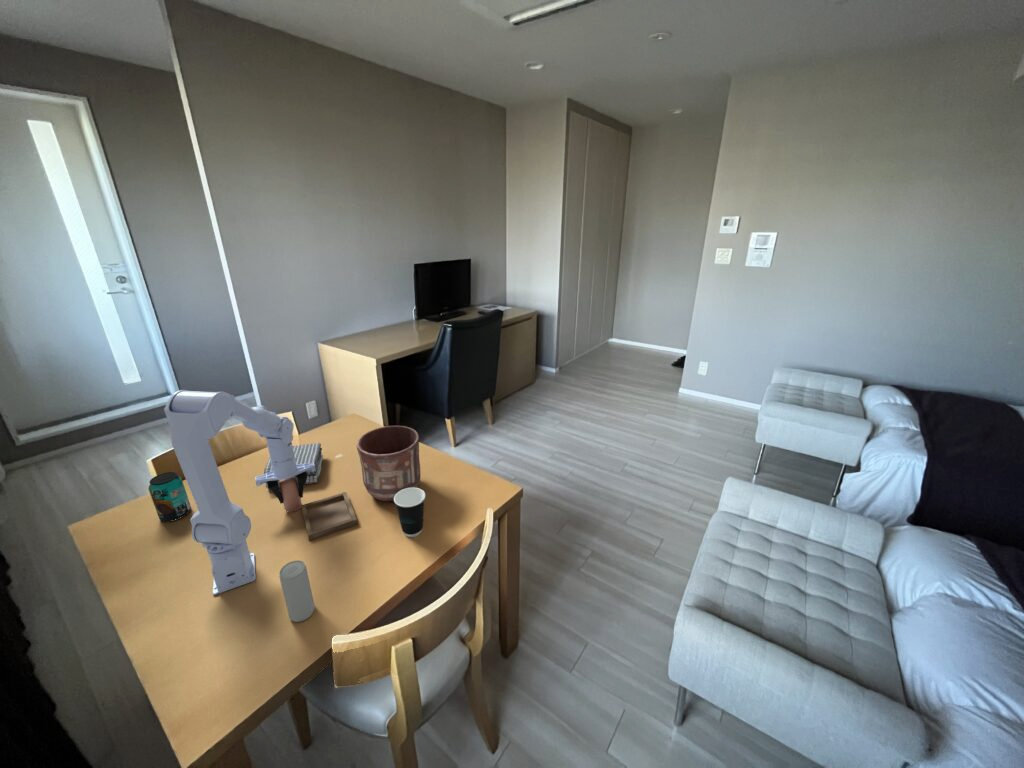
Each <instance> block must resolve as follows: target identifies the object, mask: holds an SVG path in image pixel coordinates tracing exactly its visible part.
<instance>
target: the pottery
mask: <svg viewBox="0 0 1024 768" xmlns="http://www.w3.org/2000/svg"><path fill="white" fill-rule="evenodd" d="M356 450H357V453H358V455H359V461H360V465H361V474H362V481H363V485H364V487H365V489H366V491H367V493H368V494H369V495H370V496H371V497H373V498H375V499H376V500H377V501H382V502H387V503H390V502H391V501H392V502H394V497H395V495H396V494H397V493H398V492H399V491H401V490H403V489H406V488H418V485H419V483H420V481H421V464H420V463H421V461H420V437H419V433H418V432H417V431H416V430H415V429H414V428H413V427H412V428H411V427H408V426H406V425H386V426H382V427H378V428H375V429H372V430H370V431H367V432H366V433H364V434H363V435H362V436H361V437H360V438H359V439H358V440H357V443H356Z"/></svg>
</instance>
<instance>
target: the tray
mask: <svg viewBox="0 0 1024 768" xmlns="http://www.w3.org/2000/svg"><path fill="white" fill-rule="evenodd" d="M301 511H302V514H303V515H304V516H303V519H304V523H305V529H306V534H307V537H308V538H307V539H308V542H310V541H314V540H315V539H319V538H323V537H324V536H327V535H331V534H334V533H336V532H337V533H338V532H339V531H342V530H343V531H344V530H346V529H348V528H351V527H355V526H357V525H358V519H357V516H356V514H355V511H354V509H353V506H352V503H351V501H350V499H349V497H348V493H347V492H346V491H345V492H342V493H341V492H340V493H338V494H334V495H331V496H328V497H324V498H321V499H318V500H314V501H312V502H308V503H304V504H302V505H301Z"/></svg>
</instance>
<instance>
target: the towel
mask: <svg viewBox="0 0 1024 768" xmlns="http://www.w3.org/2000/svg"><path fill="white" fill-rule="evenodd" d="M292 446H293V451H294V456H295V460H296V464H307V463H313V462H314V465H315V470H316V471H314V472H311V471H309V472H306V474H307V480H306V482H305V485H306V484H307V485H308V483H309V484H314V483H318V480H317V478H318V479H319V476H320V474H321V471H322V463H323V457H324V455H323V454H322V450H323V448H322V447H321V446H322V444H321V443H320V442H317V443H308V444H300V445H295V446H294V445H292ZM263 471H264V473H263V474H265V473H268V472H270V471H273V468H272V464H271V459H270V456H269V457H268V460H267V462H266V465H265V468H264V470H263ZM294 477H296V479H297V476H296V475H295V476H294ZM279 481H280V480H278V484H279ZM297 483H298V480H297ZM265 488H267V489H268V485H267V483H265ZM279 488H280V486H279ZM268 490H269V489H268Z"/></svg>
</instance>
